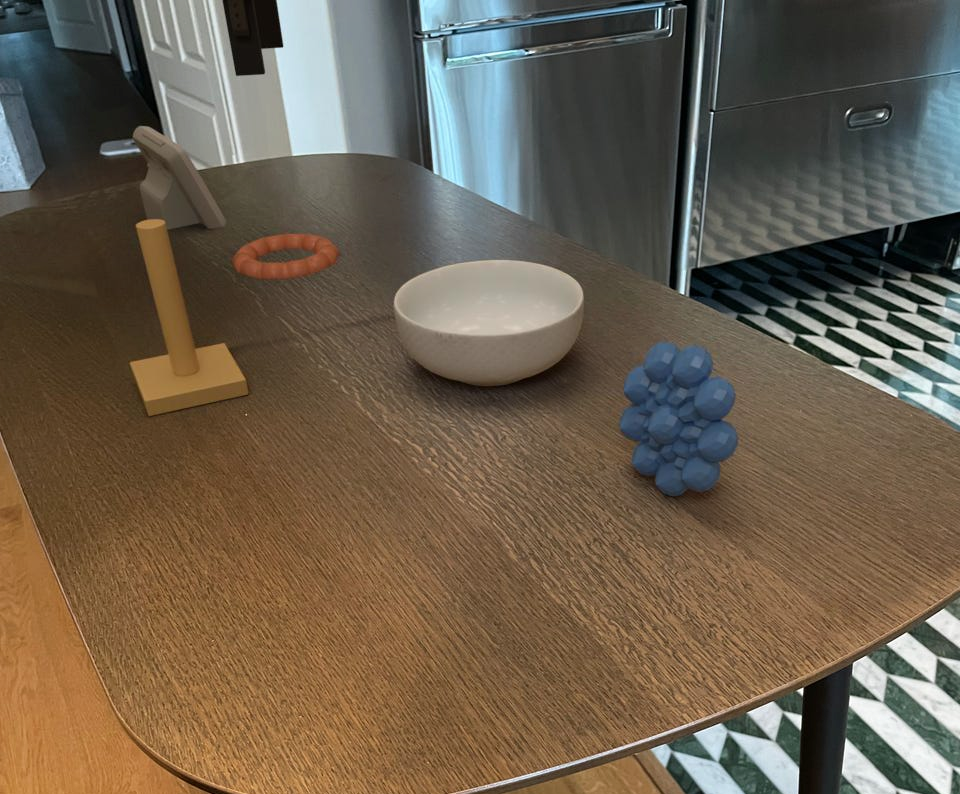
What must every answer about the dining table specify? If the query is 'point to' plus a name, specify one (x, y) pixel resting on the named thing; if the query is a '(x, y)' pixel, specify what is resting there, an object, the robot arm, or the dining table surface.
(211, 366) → the peg stand
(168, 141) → the digital clock
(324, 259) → the ring
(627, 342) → the dining table surface
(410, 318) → the cereal bowl
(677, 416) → the grapes
